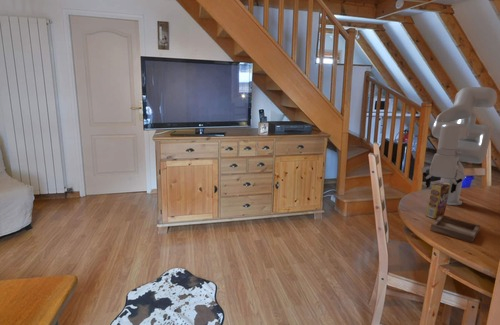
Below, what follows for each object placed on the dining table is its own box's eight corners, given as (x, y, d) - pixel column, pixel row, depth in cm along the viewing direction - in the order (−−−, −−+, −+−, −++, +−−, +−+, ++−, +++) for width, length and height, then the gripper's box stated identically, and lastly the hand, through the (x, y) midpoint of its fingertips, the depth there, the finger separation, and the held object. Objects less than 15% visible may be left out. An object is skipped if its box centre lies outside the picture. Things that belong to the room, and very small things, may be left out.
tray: (439, 220, 137) (440, 215, 137) (478, 231, 128) (480, 225, 127) (430, 230, 127) (431, 224, 127) (472, 242, 118) (473, 236, 117)
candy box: (435, 219, 138) (441, 187, 135) (425, 216, 142) (431, 184, 138) (445, 215, 143) (451, 184, 140) (435, 212, 147) (441, 181, 143)
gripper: (471, 154, 132) (464, 192, 136) (427, 148, 144) (421, 183, 148) (468, 156, 127) (460, 196, 131) (422, 150, 139) (416, 186, 142)
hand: (439, 189), depth 139 cm, fingers open, 9 cm apart
